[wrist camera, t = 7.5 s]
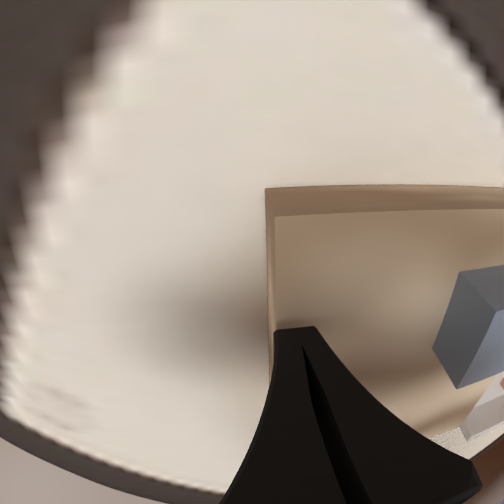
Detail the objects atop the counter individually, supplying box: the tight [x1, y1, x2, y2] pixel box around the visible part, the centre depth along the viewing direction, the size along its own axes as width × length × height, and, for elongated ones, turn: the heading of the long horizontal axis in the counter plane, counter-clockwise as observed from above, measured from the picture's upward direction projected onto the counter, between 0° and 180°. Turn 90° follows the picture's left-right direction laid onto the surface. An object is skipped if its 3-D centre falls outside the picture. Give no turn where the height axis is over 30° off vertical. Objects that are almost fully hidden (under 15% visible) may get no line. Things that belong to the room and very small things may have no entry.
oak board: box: [265, 185, 504, 438], centre depth 14 cm, size 17×14×2 cm
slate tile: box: [432, 265, 504, 390], centre depth 10 cm, size 4×4×2 cm
